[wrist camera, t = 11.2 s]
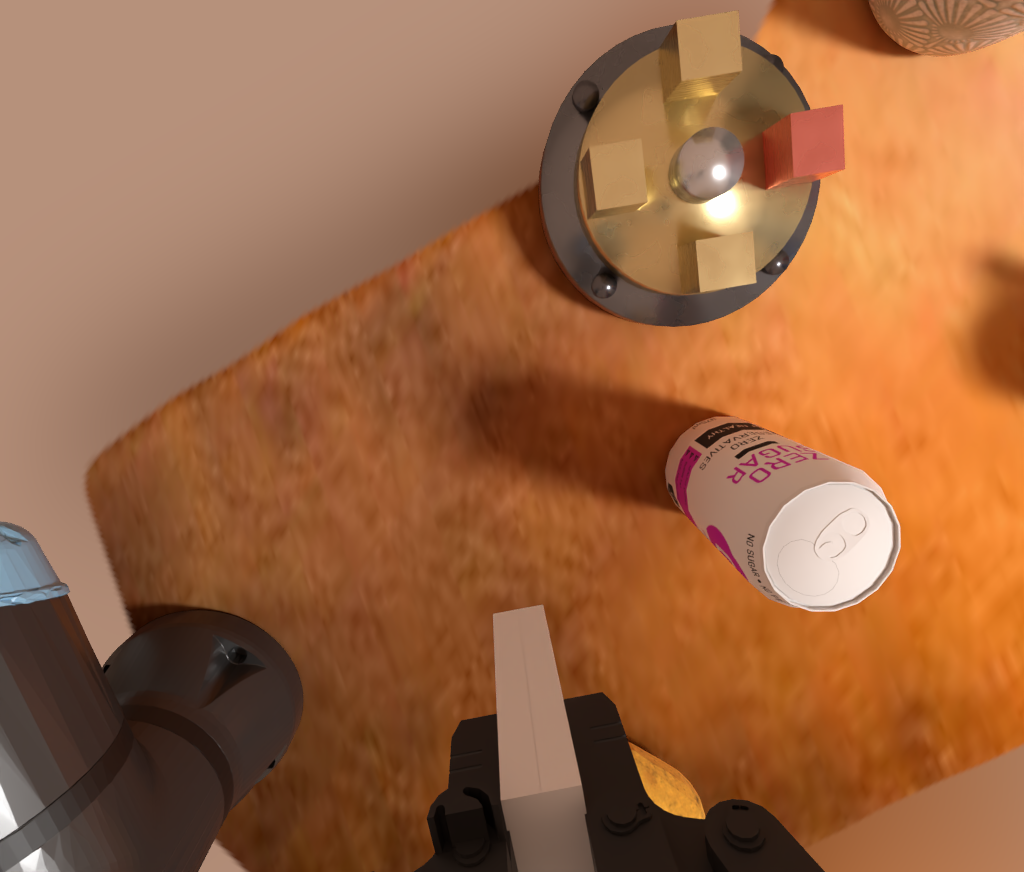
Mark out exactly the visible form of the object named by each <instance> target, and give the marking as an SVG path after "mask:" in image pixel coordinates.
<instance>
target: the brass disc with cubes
mask: <svg viewBox="0 0 1024 872" xmlns="http://www.w3.org/2000/svg"><path fill="white" fill-rule="evenodd" d="M708 127H720V128H724V129H726V130H728V131H730V132H731V133H733V134H734V135H735V136H736V137H737V139H738V140H739V142H740V143H741V146H742V148H743V152H744V168H743V171H742V174H741V177H740V178H739V180H738V182H737V183H736V184H735V186H734V187H733V188H732V189H731V190H729V191H728V192H726V193H725V194H723V195H721V196H719V197H717V198H715V199H713V200H711V201H709V202H706V203H703V204H692V203H688V202H685V201H684V200H682V199H681V198H679V197H678V196H677V195H676V194H675V192H674V191H673V189H672V187H671V184H670V181H669V165H670V162H671V159H672V157H673V155H674V153H675V152H676V150H677V149H678V148H679V147H680V146H681V145H682V144H683V143H685V142H686V141H687V140H688V139H689V138H690V137H691V136H692V135H694V134H695V133H696V132H698V131H700V130H702V129H704V128H708ZM844 169H845V158H844V126H843V105H837V106H831V107H825V108H819V109H813V110H808V111H805V109H804V106H803V104H802V102H801V100H800V98H799V96H798V94H797V93H796V91H795V89H794V88H793V87H792V85H791V84H790V82H789V81H788V80H787V78H786V77H785V76H784V75H783V74H782V73H781V72H780V71H779V70H778V69H777V68H776V67H775V66H774V65H773V64H771V63H770V62H769V61H768V60H766V59H765V58H764V57H762V56H761V55H759V54H757V53H755V52H753V51H752V50H750V49H748V48H745V47H742V46H741V41H740V26H739V12H738V10H737V11H731V12H725V13H720V14H713V15H708V16H701V17H695V18H690V19H684V20H677V21H676V22H675V24H674V25H673V27H672V29H671V30H670V32H669V33H668V35H667V36H666V38H665V40H664V41H663V43H662V44H661V46H660V48H659V49H658V50H655V51H653V52H652V53H650V54H648V55H646V56H645V57H643V58H641V59H640V60H638V61H637V62H636V63H634V64H633V65H632V66H630V67H629V68H628V69H627V70H626V71H625V72H624V73H623V74H622V75H621V76H620V77H619V78H618V79H616V80H615V82H614V83H613V84H612V85H611V87H610V88H609V89H608V91H607V92H606V93H605V94H604V96H603V98H602V99H601V101H600V103H599V104H598V106H597V108H596V109H595V111H594V113H593V115H592V117H591V119H590V121H589V123H588V125H587V127H586V130H585V132H584V134H583V137H582V139H581V142H580V145H579V149H578V152H577V156H576V162H575V168H574V182H573V187H574V201H575V206H576V211H577V216H578V219H579V222H580V225H581V228H582V231H583V233H584V235H585V237H586V239H587V241H588V243H589V245H590V246H591V248H592V249H593V251H594V253H595V254H596V255H597V257H598V258H599V259H600V260H601V261H602V262H603V264H604V265H605V266H606V267H607V268H608V269H610V270H611V271H612V272H613V273H614V274H615V275H616V276H618V277H619V278H621V279H622V280H624V281H625V282H627V283H629V284H631V285H633V286H635V287H637V288H639V289H642V290H645V291H648V292H651V293H656V294H661V295H670V296H684V295H695V294H705V293H711V292H715V291H719V290H723V289H725V288H729V287H735V286H741V285H747V284H753V283H756V272H758V271H759V270H761V269H762V268H763V267H764V266H766V265H767V264H768V263H769V262H770V261H771V260H772V259H773V258H774V257H775V256H776V255H777V254H778V253H779V252H780V251H781V249H782V248H783V247H784V246H785V245H786V243H787V242H788V240H789V239H790V237H791V236H792V234H793V233H794V231H795V229H796V227H797V226H798V224H799V222H800V220H801V218H802V215H803V213H804V210H805V208H806V205H807V203H808V199H809V195H810V191H811V187H812V182H814V181H817V180H819V179H822V178H824V177H827V176H829V175H831V174H834V173H836V172H839V171H841V170H844Z"/></svg>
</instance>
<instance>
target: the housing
mask: <svg viewBox="0 0 1024 872" xmlns="http://www.w3.org/2000/svg"><path fill="white" fill-rule="evenodd" d="M672 27H673V25H669V26H665V27H660V28H655V29H651V30H648V31H646V32H643V33H640V34H638V35H635V36H633V37H631V38H629V39H627V40H625V41H624V42H622V43H620V44H618V45H616V46H615V47H613V48H612V49H611V50H609V51H608V52H607V53H605V54H604V55H602V56H601V57H600V58H599V59H598V60H596V61H595V62H594V63H593V64H592V65H591V66H590V67H589V68H588V69H587V70H586V71H585V72H584V73H583V75H582V76H581V77H580V78H579V79H578V81H577V82H576V83H575V84H574V86H573V87H572V88H571V90H570V92H569V93H568V95H567V96H566V98H565V100H564V101H563V103H562V105H561V107H560V109H559V111H558V113H557V115H556V117H555V120H554V122H553V124H552V127H551V130H550V133H549V137H548V140H547V143H546V146H545V149H544V152H543V157H542V162H541V167H540V175H539V189H538V194H539V210H540V215H541V221H542V227H543V230H544V233H545V236H546V240H547V243H548V245H549V248H550V250H551V252H552V254H553V256H554V258H555V261H556V262H557V264H558V265H559V267H560V269H561V270H562V272H563V273H564V275H565V276H566V277H567V279H568V280H569V281H570V282H571V283H572V285H573V286H574V287H575V288H576V289H577V290H578V291H579V292H580V293H581V294H582V295H583V296H585V297H586V298H587V299H588V300H589V301H591V302H592V303H594V304H595V305H596V306H598V307H599V308H601V309H603V310H605V311H606V312H608V313H610V314H612V315H614V316H616V317H619V318H622V319H625V320H628V321H631V322H636V323H641V324H645V325H656V326H672V327H676V326H690V325H695V324H700V323H705V322H709V321H712V320H715V319H718V318H721V317H724V316H726V315H728V314H730V313H732V312H734V311H736V310H738V309H740V308H742V307H744V306H745V305H747V304H748V303H750V302H751V301H753V300H754V299H756V298H757V297H758V296H759V295H761V294H762V293H763V292H764V291H765V290H766V289H768V288H769V287H770V286H771V285H772V284H773V283H774V282H775V281H776V280H777V278H778V277H779V276H780V275H781V274H782V273H783V272H784V271H785V270H786V269H787V267H788V265H789V264H790V262H791V261H792V260H793V258H794V257H795V255H796V253H797V251H798V250H799V248H800V246H801V244H802V243H803V241H804V239H805V236H806V234H807V232H808V229H809V227H810V224H811V222H812V219H813V215H814V212H815V208H816V205H817V200H818V194H819V188H820V179H819V180H817V181H814V182H812V187H811V191H810V195H809V199H808V203H807V205H806V208H805V210H804V213H803V215H802V218H801V220H800V222H799V224H798V226H797V227H796V229H795V231H794V233H793V234H792V236H791V237H790V239H789V240H788V242H787V243H786V245H785V246H784V247H783V248H782V249H781V251H780V252H779V253H778V254H777V255H776V256H775V257H774V258H773V259H772V260H771V261H770V262H769V263H768V264H767V265H766V266H764V267H763V268H762V269H761V270H759V271H758V272H756V283H753V284H747V285H741V286H735V287H729V288H725V289H723V290H719V291H715V292H711V293H705V294H695V295H684V296H670V295H661V294H656V293H651V292H648V291H645V290H642V289H639V288H637V287H635V286H633V285H631V284H629V283H627V282H625V281H624V280H622V279H621V278H619V277H618V276H616V275H615V274H614V273H613V272H612V271H611V270H610V269H608V268H607V267H606V266H605V265H604V264H603V262H602V261H601V260H600V259H599V258H598V257H597V255H596V254H595V253H594V251H593V249H592V248H591V246H590V245H589V243H588V241H587V239H586V237H585V235H584V233H583V231H582V228H581V225H580V222H579V219H578V216H577V211H576V206H575V201H574V187H573V182H574V168H575V162H576V156H577V152H578V149H579V145H580V142H581V139H582V137H583V134H584V132H585V130H586V127H587V125H588V123H589V121H590V119H591V117H592V115H593V113H594V111H595V109H596V108H597V106H598V104H599V103H600V101H601V99H602V98H603V96H604V94H605V93H606V92H607V91H608V89H609V88H610V87H611V85H612V84H613V83H614V82H615V80H616V79H618V78H619V77H620V76H621V75H622V74H623V73H624V72H625V71H626V70H627V69H628V68H629V67H630V66H632V65H633V64H634V63H636V62H637V61H638V60H640V59H641V58H643V57H645V56H646V55H648V54H650V53H652V52H653V51H655V50H658V49H659V48H660V46H661V44H662V43H663V41H664V40H665V38H666V36H667V35H668V33H669V32H670V30H671V29H672ZM740 41H741V46H742V47H745V48H748V49H750V50H752V51H753V52H755V53H757V54H759V55H761V56H762V57H764V58H765V59H766V60H768V61H769V62H770V63H771V64H773V65H774V66H775V67H776V68H777V69H778V70H779V71H780V72H781V73H782V74H783V75H784V76H785V77H786V78H787V80H788V81H789V82H790V84H791V85H792V87H793V88H794V89H795V91H796V93H797V94H798V96H799V98H800V100H801V102H802V104H803V106H804V109H805V111H808V110H810V107H809V105H808V103H807V101H806V99H805V97H804V95H803V93H802V91H801V89H800V87H799V86H798V84H797V83H796V82H795V80H794V79H793V77H792V76H791V74H790V73H789V72H788V71H787V70H786V68H785V67H784V65H783V62H782V60H781V58H780V57H778V56H777V55H773V54H770V53H769V52H768V51H767V50H765V49H764V48H763V47H762V46H760V45H758V44H757V43H755V42H753V41H752V40H750V39H748V38H747V37H744V36H742V35H740ZM743 168H744V152H743V148H742V146H741V143H740V142H739V140H738V139H737V137H736V136H735V135H734V134H733V133H731V132H730V131H728V130H726V129H724V128H720V127H708V128H704V129H702V130H700V131H698V132H696V133H695V134H694V135H692V136H691V137H690V138H689V139H688V140H687V141H686V142H685V143H683V144H682V145H681V146H680V147H679V148H678V149H677V150H676V152H675V153H674V155H673V157H672V159H671V162H670V165H669V181H670V184H671V187H672V189H673V191H674V192H675V194H676V195H677V196H678V197H679V198H681V199H682V200H684V201H685V202H688V203H692V204H703V203H706V202H709V201H711V200H713V199H715V198H717V197H719V196H721V195H723V194H725V193H726V192H728V191H729V190H731V189H732V188H733V187H734V186H735V184H736V183H737V182H738V180H739V178H740V177H741V174H742V171H743Z"/></svg>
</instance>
